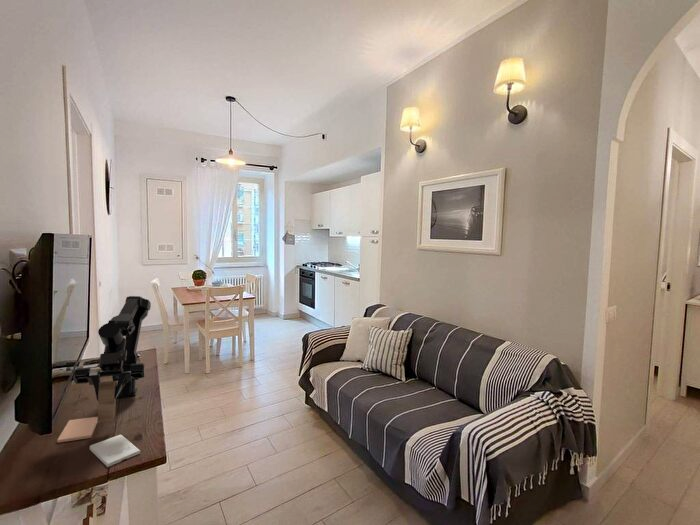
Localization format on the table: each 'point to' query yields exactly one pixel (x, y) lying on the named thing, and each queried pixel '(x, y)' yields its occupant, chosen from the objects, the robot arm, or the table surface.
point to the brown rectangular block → (106, 401)
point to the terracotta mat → (78, 429)
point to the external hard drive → (114, 450)
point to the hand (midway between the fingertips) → (106, 399)
